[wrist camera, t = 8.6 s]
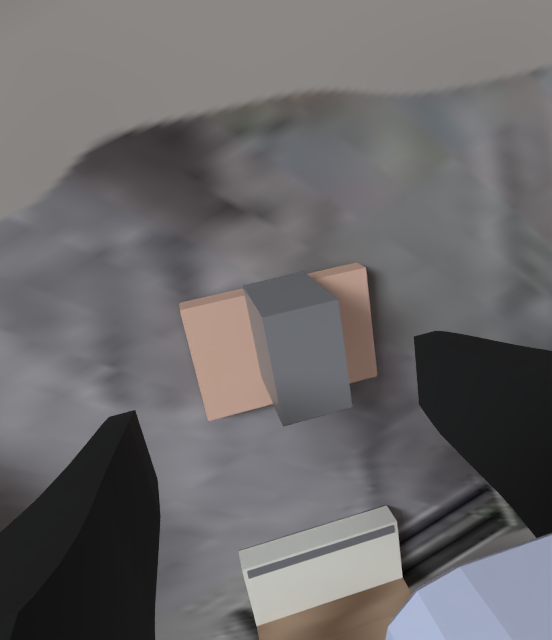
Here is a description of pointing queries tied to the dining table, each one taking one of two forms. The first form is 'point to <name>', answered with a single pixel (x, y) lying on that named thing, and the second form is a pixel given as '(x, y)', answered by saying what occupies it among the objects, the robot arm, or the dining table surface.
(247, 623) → the dining table surface
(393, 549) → the board
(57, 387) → the dining table surface
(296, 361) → the grey and peach block
